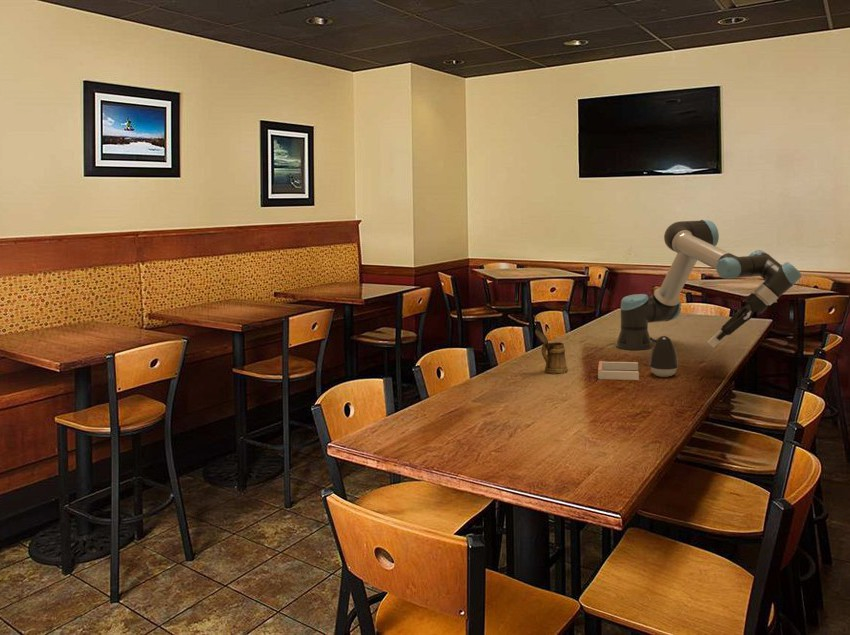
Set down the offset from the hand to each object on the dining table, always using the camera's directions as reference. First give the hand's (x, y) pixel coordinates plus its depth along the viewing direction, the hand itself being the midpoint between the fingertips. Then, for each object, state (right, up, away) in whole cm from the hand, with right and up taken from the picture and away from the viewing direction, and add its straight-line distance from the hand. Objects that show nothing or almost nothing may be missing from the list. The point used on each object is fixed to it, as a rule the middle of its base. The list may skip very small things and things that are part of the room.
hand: (710, 344), depth 264 cm
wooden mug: (-55, -12, +20) cm, 60 cm away
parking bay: (-30, -12, +12) cm, 35 cm away
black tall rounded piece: (-15, -12, +7) cm, 21 cm away
